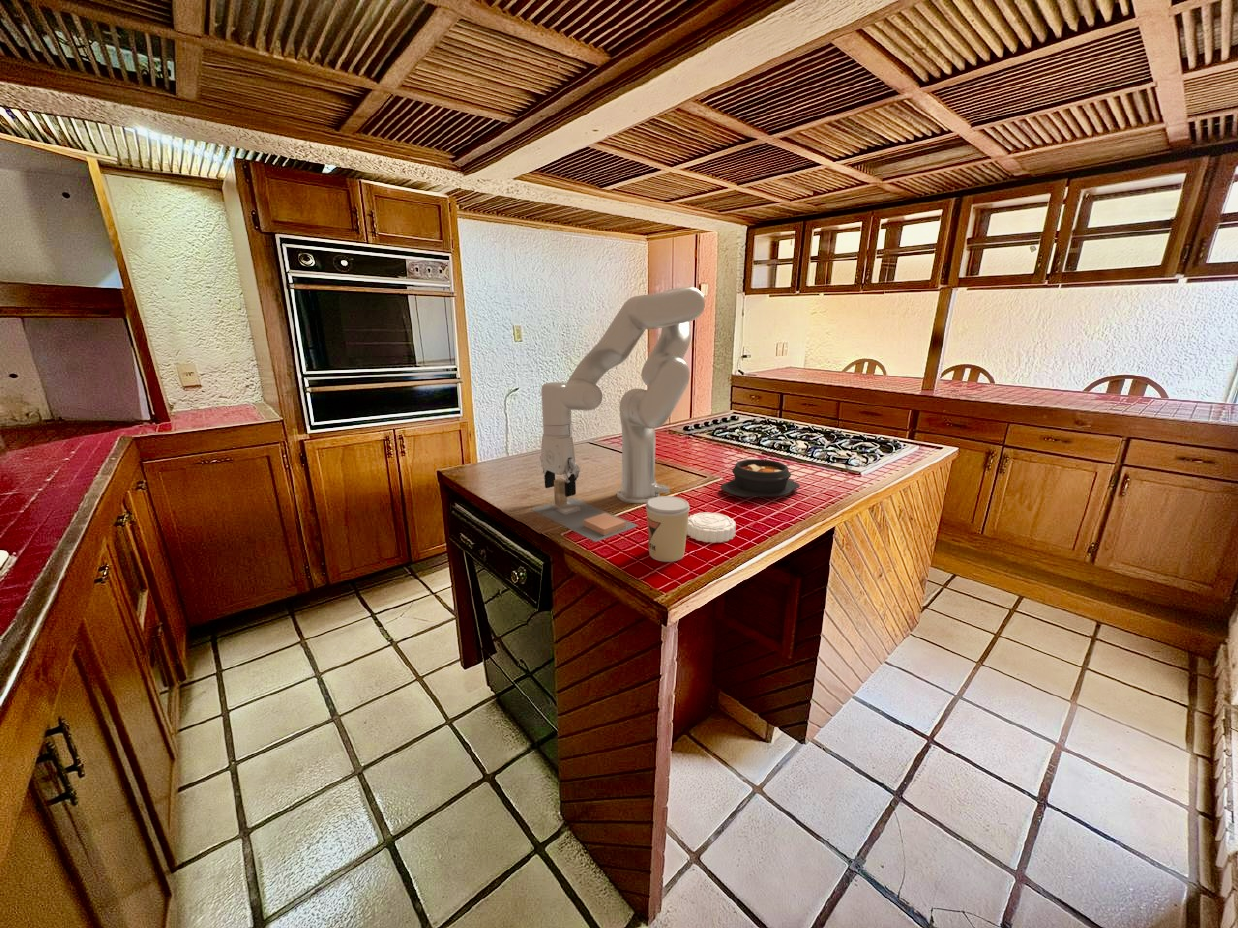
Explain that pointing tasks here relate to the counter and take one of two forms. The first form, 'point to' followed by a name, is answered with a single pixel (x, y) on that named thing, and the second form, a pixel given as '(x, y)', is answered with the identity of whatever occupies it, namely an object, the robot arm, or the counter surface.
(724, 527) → the mooncake
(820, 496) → the counter surface
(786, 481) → the casserole
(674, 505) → the coffee cup
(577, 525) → the mat
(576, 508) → the wooden stand
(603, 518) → the tile
